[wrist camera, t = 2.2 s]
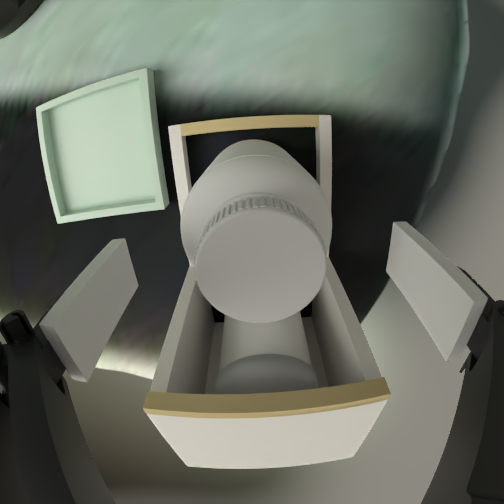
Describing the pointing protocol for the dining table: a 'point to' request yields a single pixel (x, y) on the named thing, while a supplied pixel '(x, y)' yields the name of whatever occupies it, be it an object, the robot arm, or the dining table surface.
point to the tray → (104, 149)
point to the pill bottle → (257, 233)
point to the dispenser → (264, 358)
